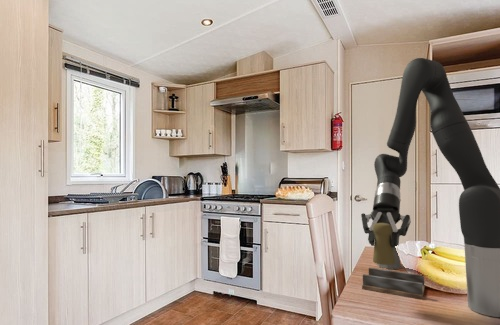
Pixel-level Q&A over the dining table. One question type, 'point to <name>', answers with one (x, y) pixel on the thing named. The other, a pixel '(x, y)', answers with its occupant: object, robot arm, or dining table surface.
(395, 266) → the coffeepot
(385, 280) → the walnut track
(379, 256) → the olive waisted cylinder
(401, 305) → the dining table surface
